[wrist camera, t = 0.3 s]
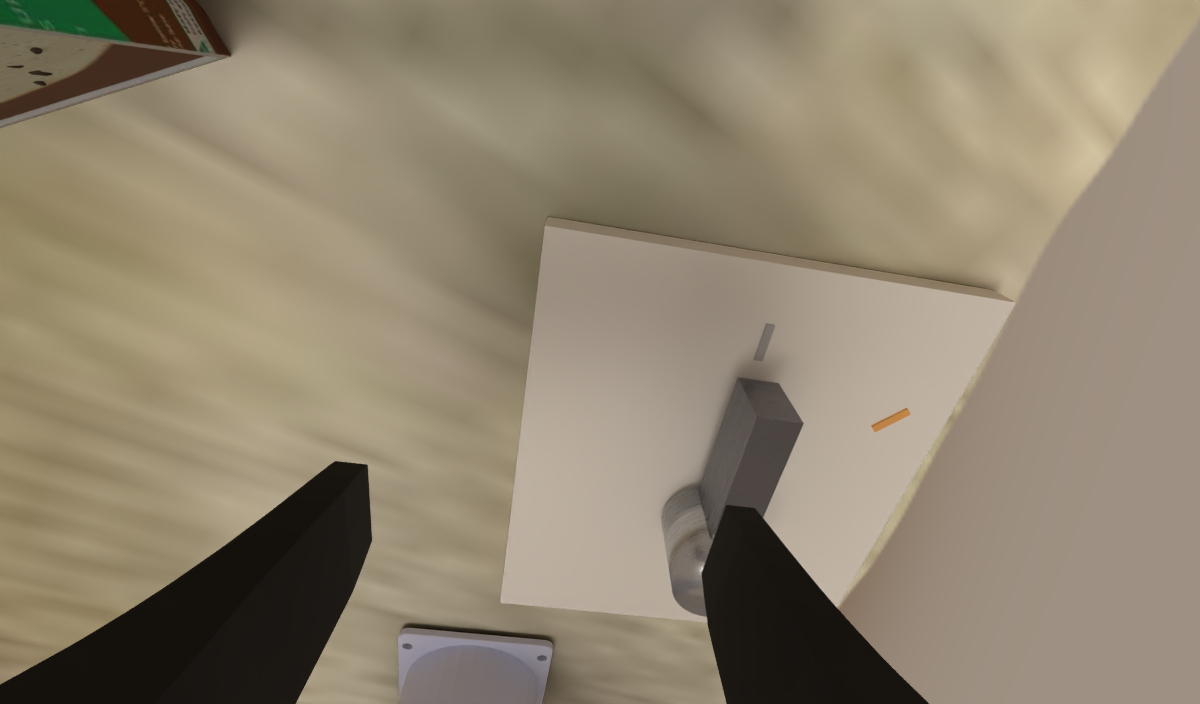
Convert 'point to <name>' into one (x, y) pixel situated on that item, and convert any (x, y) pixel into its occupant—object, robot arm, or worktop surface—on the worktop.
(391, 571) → the worktop surface
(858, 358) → the dial panel
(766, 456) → the dial lever
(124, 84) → the food container
